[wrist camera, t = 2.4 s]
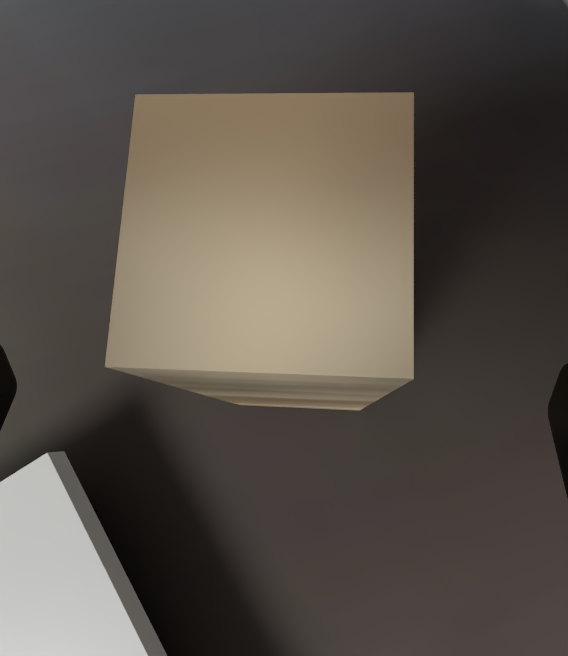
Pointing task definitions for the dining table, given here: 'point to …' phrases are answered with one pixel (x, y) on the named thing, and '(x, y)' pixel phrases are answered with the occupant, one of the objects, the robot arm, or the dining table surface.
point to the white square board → (63, 572)
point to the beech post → (268, 247)
